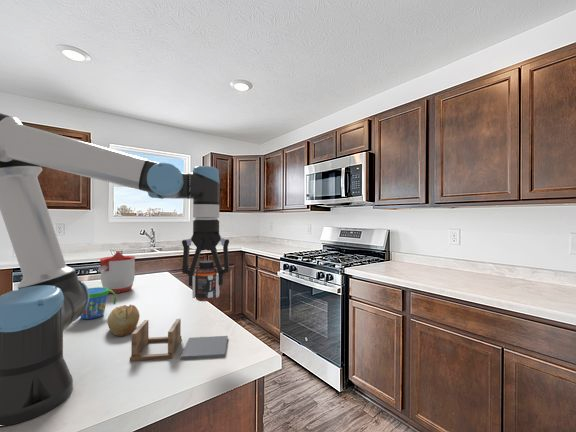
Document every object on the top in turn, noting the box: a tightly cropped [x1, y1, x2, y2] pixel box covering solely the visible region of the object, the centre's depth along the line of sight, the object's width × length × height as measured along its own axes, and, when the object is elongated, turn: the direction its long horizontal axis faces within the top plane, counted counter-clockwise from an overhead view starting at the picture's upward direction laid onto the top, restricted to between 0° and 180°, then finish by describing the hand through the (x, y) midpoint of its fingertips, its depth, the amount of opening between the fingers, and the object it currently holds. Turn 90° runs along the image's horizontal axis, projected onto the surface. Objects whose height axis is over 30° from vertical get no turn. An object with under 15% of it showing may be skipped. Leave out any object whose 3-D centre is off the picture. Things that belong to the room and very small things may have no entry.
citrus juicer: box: [97, 251, 136, 295], centre depth 146 cm, size 16×17×20 cm
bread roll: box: [107, 304, 140, 337], centre depth 99 cm, size 10×15×8 cm, turn 33°
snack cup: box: [80, 286, 117, 320], centre depth 111 cm, size 16×10×10 cm
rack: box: [129, 318, 182, 362], centre depth 85 cm, size 12×11×7 cm
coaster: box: [179, 335, 228, 360], centre depth 86 cm, size 12×12×1 cm
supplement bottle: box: [195, 260, 217, 302], centre depth 85 cm, size 6×6×11 cm
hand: (206, 296), depth 85 cm, fingers closed on supplement bottle, 6 cm apart
